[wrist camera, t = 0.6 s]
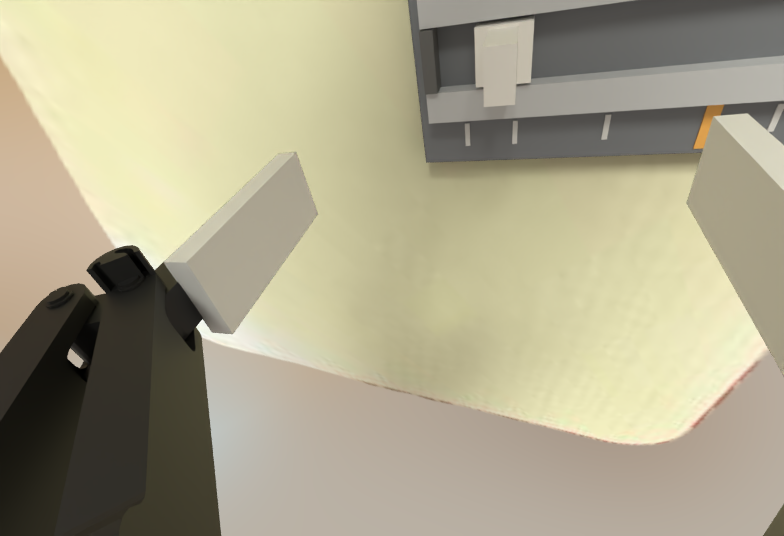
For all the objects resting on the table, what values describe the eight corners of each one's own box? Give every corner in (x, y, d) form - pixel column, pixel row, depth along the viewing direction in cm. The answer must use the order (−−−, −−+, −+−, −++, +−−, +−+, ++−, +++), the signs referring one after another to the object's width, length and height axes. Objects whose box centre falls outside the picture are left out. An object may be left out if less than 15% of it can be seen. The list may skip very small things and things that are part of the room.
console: (404, -88, 28) (390, -88, 25) (1004, -225, 19) (1088, -249, 16) (429, 153, 39) (422, 172, 36) (813, 136, 30) (843, 160, 28)
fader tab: (476, 23, 29) (466, 45, 24) (534, 15, 28) (535, 37, 23) (477, 80, 32) (468, 111, 27) (530, 75, 31) (531, 106, 26)
